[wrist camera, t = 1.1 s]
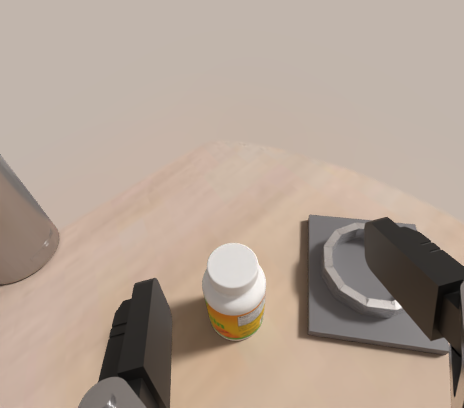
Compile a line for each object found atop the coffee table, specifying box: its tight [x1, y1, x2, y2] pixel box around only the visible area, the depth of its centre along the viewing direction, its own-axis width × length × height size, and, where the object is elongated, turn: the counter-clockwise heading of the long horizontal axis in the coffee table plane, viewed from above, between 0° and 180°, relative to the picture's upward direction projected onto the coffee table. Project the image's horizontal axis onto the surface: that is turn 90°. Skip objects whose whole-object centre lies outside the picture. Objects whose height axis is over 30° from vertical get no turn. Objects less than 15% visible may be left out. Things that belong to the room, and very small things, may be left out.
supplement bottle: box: [202, 243, 266, 341], centre depth 27 cm, size 5×5×10 cm
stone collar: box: [321, 223, 405, 319], centre depth 32 cm, size 10×10×2 cm
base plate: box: [308, 215, 449, 355], centre depth 33 cm, size 12×14×1 cm
